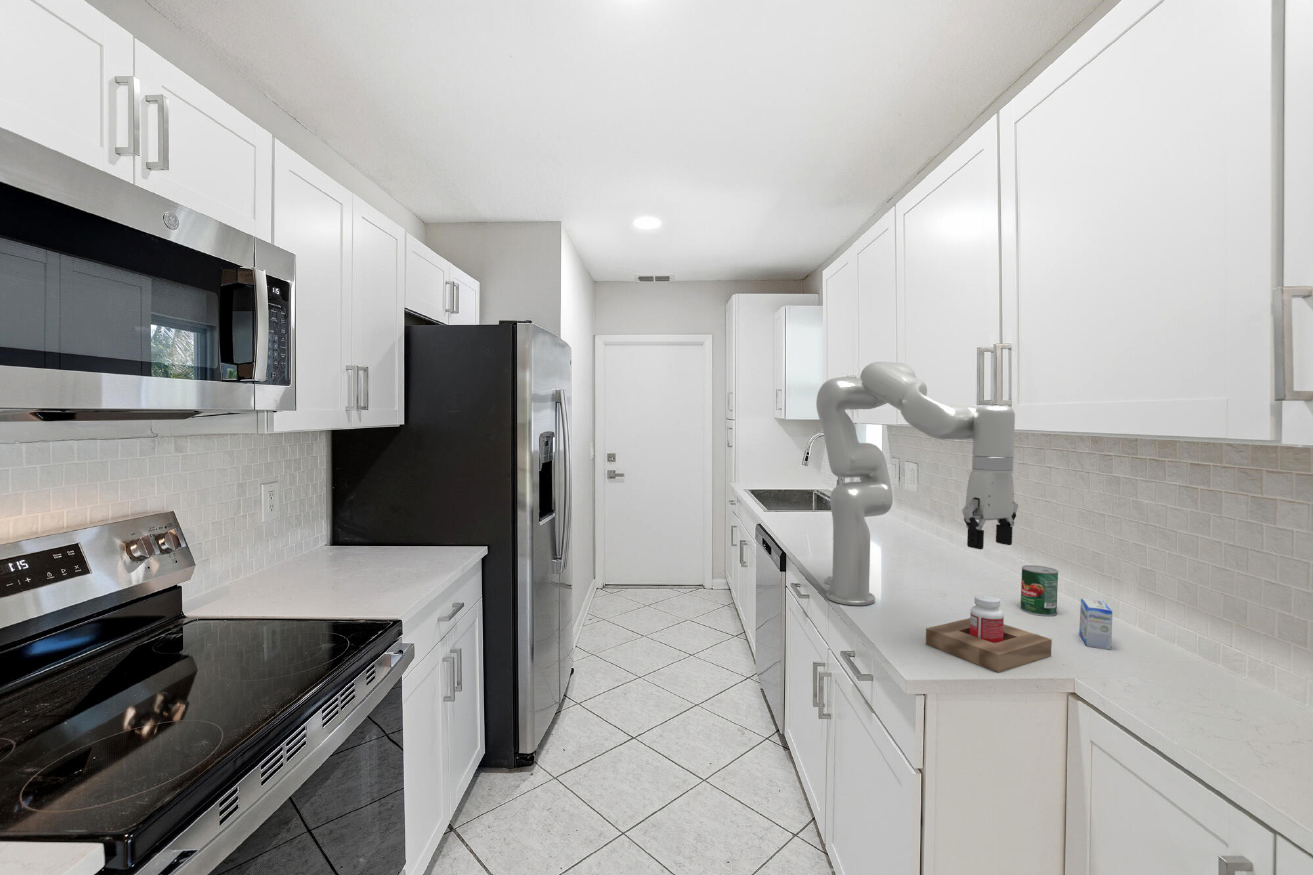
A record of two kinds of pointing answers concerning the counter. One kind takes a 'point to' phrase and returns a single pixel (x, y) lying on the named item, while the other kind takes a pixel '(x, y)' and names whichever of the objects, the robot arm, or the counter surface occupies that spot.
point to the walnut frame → (989, 645)
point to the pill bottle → (987, 619)
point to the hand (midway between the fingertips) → (989, 545)
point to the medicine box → (1095, 623)
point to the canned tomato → (1039, 590)
